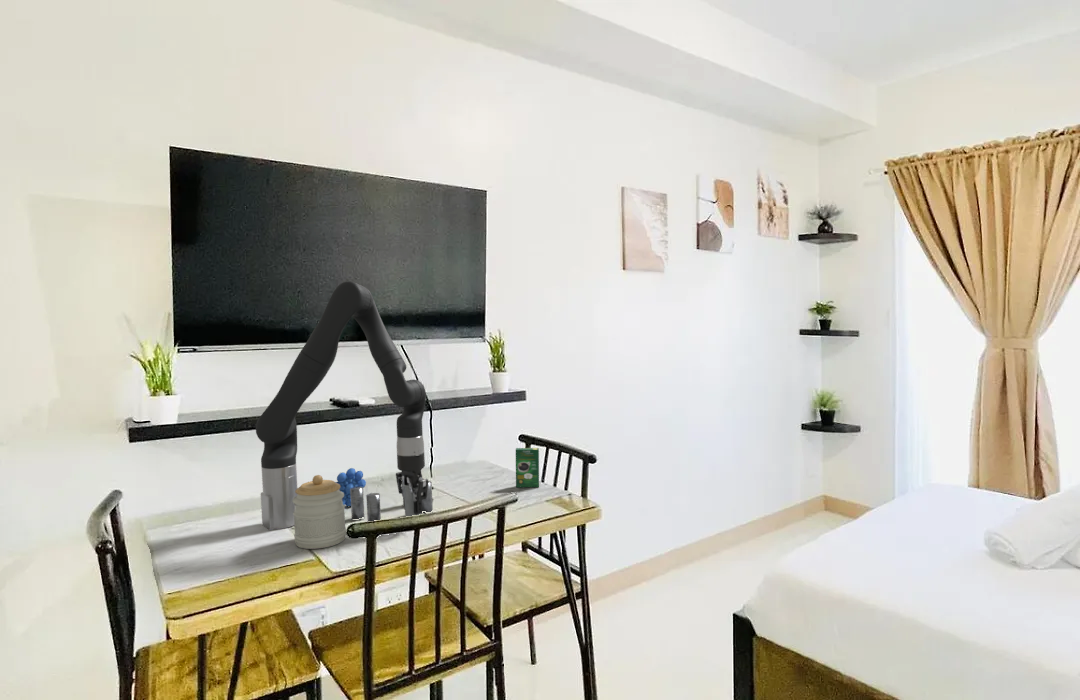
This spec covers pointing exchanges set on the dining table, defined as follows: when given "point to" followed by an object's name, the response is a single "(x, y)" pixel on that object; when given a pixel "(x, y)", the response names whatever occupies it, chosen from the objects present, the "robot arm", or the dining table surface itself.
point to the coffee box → (527, 467)
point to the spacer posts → (374, 503)
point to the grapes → (350, 483)
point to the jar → (319, 514)
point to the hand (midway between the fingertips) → (413, 511)
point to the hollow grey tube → (409, 501)
